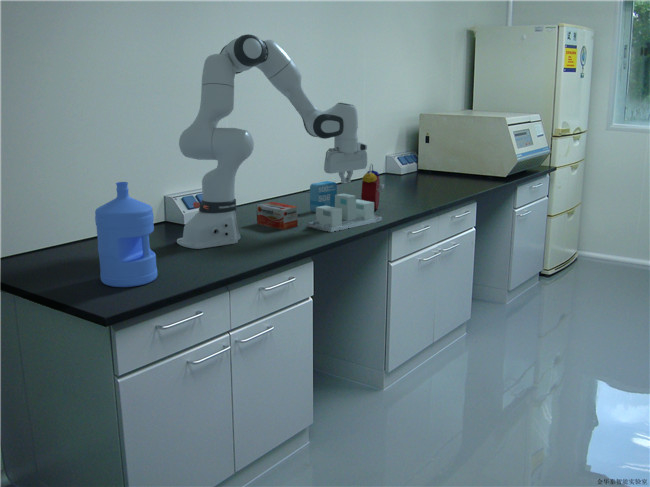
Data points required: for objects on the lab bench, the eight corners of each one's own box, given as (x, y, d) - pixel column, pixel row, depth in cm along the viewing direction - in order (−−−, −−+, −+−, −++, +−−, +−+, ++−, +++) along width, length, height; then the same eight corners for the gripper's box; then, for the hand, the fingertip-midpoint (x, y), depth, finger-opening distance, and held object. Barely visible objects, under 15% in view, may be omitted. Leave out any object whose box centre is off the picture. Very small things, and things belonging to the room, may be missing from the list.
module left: (332, 226, 246) (332, 210, 244) (315, 222, 252) (315, 207, 251) (341, 224, 249) (342, 208, 248) (325, 220, 256) (325, 205, 254)
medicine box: (256, 224, 257) (256, 204, 255) (271, 220, 263) (271, 201, 261) (283, 230, 247) (283, 209, 245) (298, 226, 253) (298, 206, 251)
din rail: (331, 232, 243) (331, 226, 243) (307, 226, 252) (307, 221, 252) (381, 220, 262) (381, 215, 261) (358, 215, 271) (358, 210, 271)
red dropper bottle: (365, 206, 290) (366, 160, 285) (385, 207, 288) (386, 161, 283) (360, 213, 276) (361, 165, 271) (381, 214, 274) (382, 166, 269)
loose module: (347, 220, 253) (347, 197, 250) (334, 217, 258) (334, 194, 255) (355, 218, 256) (356, 195, 253) (343, 215, 261) (343, 193, 258)
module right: (365, 219, 258) (365, 204, 256) (348, 215, 264) (348, 200, 263) (374, 217, 261) (374, 202, 260) (357, 213, 268) (357, 199, 266)
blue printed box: (317, 213, 276) (317, 185, 273) (309, 211, 279) (309, 183, 276) (337, 209, 284) (337, 181, 281) (329, 207, 287) (329, 180, 284)
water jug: (89, 284, 185) (79, 185, 177) (124, 269, 199) (116, 177, 192) (135, 291, 179) (127, 189, 172) (168, 274, 193) (162, 180, 186)
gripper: (332, 149, 240) (332, 187, 244) (370, 145, 254) (369, 180, 258) (320, 148, 245) (320, 184, 248) (358, 143, 258) (357, 178, 262)
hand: (345, 182), depth 253 cm, fingers closed
